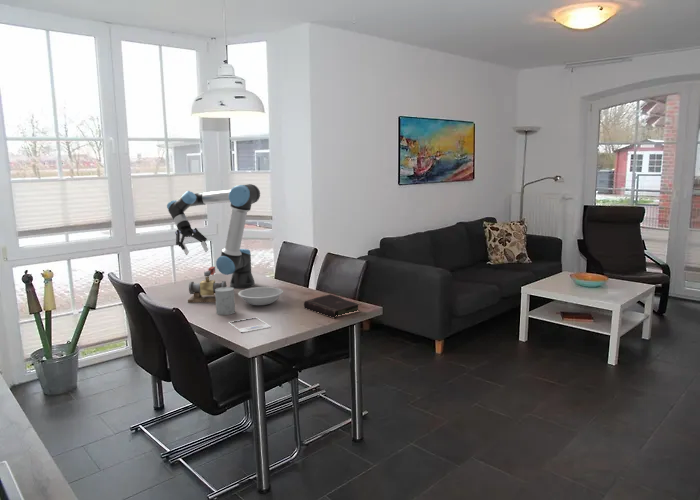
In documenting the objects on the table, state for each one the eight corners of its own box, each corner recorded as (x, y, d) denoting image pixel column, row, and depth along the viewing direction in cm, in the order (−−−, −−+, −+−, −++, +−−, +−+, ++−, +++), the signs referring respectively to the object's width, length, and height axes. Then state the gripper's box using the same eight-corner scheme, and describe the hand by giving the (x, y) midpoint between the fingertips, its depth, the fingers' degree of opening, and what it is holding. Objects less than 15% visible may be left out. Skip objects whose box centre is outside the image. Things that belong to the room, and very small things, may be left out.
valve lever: (215, 272, 302) (215, 266, 302) (209, 278, 287) (208, 272, 286) (210, 272, 302) (210, 266, 301) (203, 278, 287) (203, 272, 286)
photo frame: (241, 331, 233) (228, 321, 248) (241, 334, 234) (228, 323, 249) (271, 326, 241) (256, 316, 256) (271, 328, 241) (256, 318, 256)
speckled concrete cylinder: (238, 310, 269) (237, 287, 267) (228, 315, 260) (227, 292, 258) (222, 308, 272) (221, 286, 270) (212, 314, 263) (211, 290, 261)
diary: (333, 320, 253) (333, 310, 252) (304, 309, 272) (303, 300, 271) (362, 312, 265) (361, 303, 264) (331, 302, 284) (331, 293, 283)
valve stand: (228, 296, 296) (227, 274, 294) (224, 302, 285) (223, 279, 283) (193, 297, 296) (192, 275, 293) (187, 302, 285) (186, 279, 283)
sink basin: (291, 301, 286) (291, 289, 285) (265, 312, 265) (264, 300, 264) (257, 296, 297) (256, 285, 296) (229, 306, 276) (228, 294, 275)
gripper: (197, 225, 323) (211, 253, 317) (161, 229, 303) (176, 258, 297) (202, 218, 318) (217, 246, 312) (166, 221, 299) (181, 251, 293)
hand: (197, 252), depth 305 cm, fingers open, 13 cm apart
